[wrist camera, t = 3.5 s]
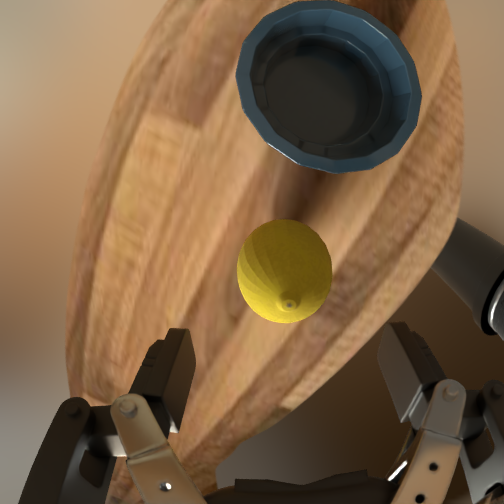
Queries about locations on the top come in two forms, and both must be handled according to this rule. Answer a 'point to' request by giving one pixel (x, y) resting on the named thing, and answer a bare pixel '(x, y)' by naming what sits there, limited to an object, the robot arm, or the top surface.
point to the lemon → (284, 271)
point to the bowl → (328, 86)
